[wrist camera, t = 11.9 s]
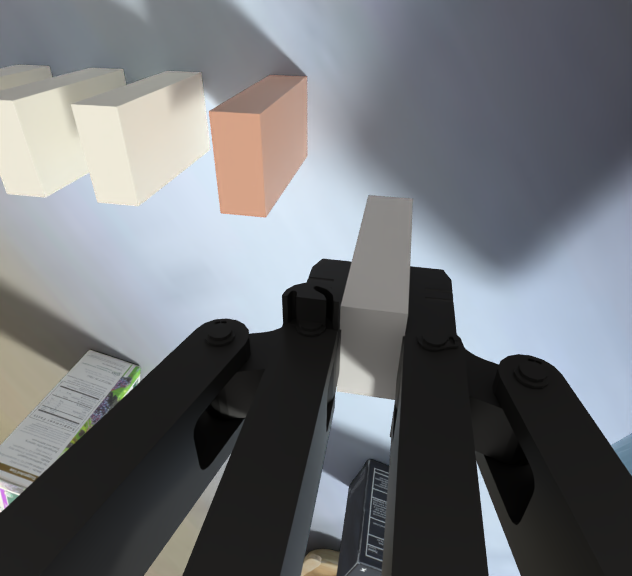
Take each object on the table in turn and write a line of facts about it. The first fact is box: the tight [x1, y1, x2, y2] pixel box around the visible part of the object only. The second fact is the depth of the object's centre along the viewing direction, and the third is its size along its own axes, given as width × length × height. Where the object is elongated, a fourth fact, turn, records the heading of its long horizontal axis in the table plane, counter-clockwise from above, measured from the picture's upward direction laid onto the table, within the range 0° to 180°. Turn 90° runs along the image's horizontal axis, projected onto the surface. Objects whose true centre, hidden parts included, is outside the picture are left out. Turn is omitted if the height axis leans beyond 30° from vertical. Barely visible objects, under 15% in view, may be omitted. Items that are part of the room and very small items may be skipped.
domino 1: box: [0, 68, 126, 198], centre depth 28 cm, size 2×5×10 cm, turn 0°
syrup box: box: [0, 350, 141, 512], centre depth 42 cm, size 6×6×14 cm
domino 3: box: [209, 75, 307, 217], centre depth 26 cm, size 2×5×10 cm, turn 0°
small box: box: [336, 459, 389, 576], centre depth 45 cm, size 11×6×10 cm, turn 72°
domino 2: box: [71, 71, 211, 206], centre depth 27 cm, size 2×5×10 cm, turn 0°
